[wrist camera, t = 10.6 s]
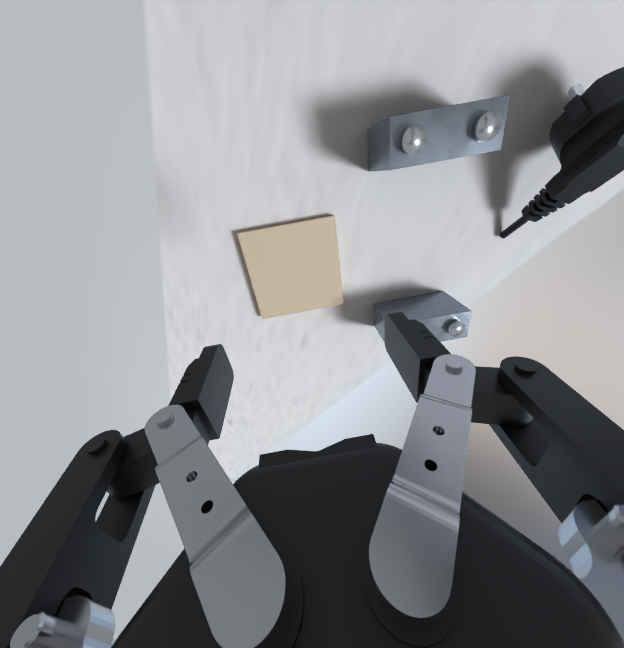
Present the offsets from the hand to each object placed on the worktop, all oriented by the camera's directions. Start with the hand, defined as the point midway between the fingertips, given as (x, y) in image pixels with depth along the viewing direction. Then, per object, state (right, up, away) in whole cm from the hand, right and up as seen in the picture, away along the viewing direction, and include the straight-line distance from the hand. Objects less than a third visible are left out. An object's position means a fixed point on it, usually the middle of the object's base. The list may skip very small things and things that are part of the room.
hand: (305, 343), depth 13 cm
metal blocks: (+10, +10, +13) cm, 19 cm away
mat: (-1, +6, +13) cm, 15 cm away
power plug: (+20, +13, +15) cm, 28 cm away
